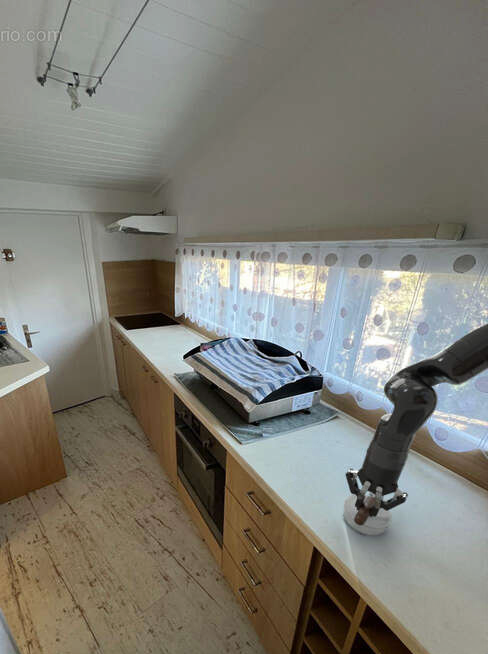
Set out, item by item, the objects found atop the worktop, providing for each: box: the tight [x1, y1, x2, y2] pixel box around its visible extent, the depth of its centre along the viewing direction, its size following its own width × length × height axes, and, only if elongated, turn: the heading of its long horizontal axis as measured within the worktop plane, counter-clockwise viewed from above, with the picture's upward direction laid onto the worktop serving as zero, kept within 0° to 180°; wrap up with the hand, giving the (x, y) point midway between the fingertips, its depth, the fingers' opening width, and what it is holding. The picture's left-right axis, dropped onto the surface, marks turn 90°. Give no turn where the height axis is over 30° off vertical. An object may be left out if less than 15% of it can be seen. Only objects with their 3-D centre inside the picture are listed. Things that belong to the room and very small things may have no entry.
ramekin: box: [343, 494, 393, 536], centre depth 82 cm, size 11×11×5 cm
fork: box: [354, 492, 375, 526], centre depth 79 cm, size 19×2×2 cm, turn 135°
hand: (365, 511), depth 77 cm, fingers closed on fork, 2 cm apart
